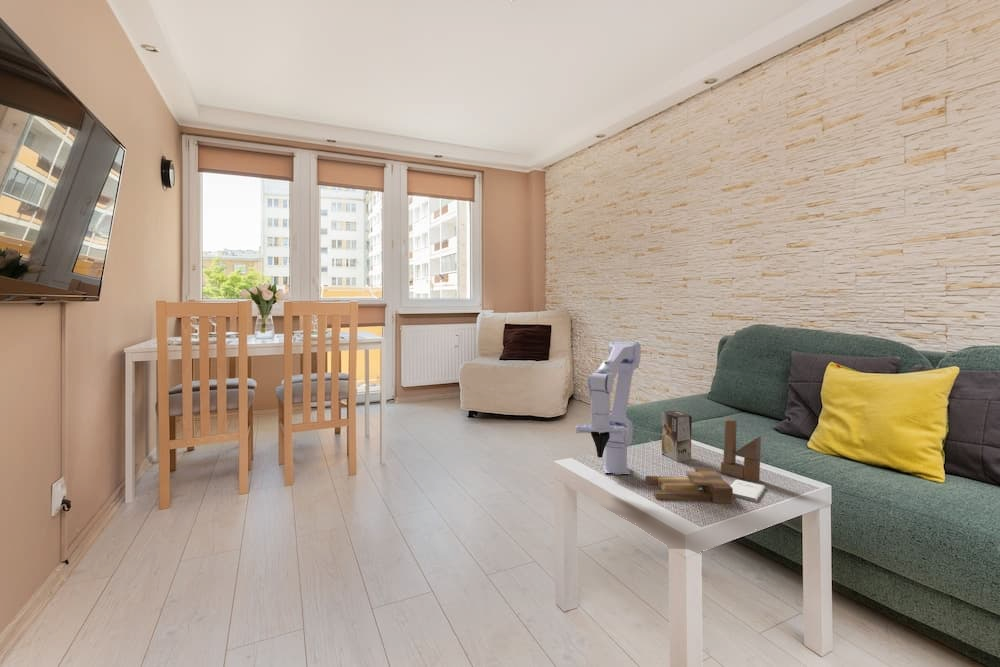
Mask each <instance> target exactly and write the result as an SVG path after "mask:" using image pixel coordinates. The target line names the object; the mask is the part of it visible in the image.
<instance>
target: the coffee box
mask: <svg viewBox="0 0 1000 667" xmlns="http://www.w3.org/2000/svg"><path fill="white" fill-rule="evenodd" d="M661 418H662V420H661V426H662V427H661V454H662V455H663V454H664V455H663V456H665V455H666V456H665V457H667V458H669V457H670V459H671V458H672V459H671V460H673V461H676V462H683V461H684V462H685V461H691V460H692V426H693V425H692V424H693V423H692V415H691V414H687V413H683V412H681V411H679V410H667V411H662V412H661Z"/></svg>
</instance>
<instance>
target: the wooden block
mask: <svg viewBox="0 0 1000 667" xmlns="http://www.w3.org/2000/svg"><path fill="white" fill-rule="evenodd" d="M723 422H724V423H723V425H724V427H723V456H722V457H723V461H721V463H720V473H721V474H723V475H727V476H731V477H735V478H737V479H740V480H741V479H742V480H743V481H747V482H751V481H752V482H751V483H757V482H758V481H760V477H761V476H760V472H761V470H760V468H761V448H762V447H761V443H762V441H761V439H762V436H758V437H755V438H754V439H752V440H751V441H750V442H748V443H747V444H745V445H744V446H743V447H741V448H739V449H737V423H738V422H737V420H736V419H735V418H725V419H724V421H723ZM736 456H737V457H741V458H744V459H743V464H741V463H739V462H738V463H737V462H736V458H737V457H736ZM756 481H757V482H756Z"/></svg>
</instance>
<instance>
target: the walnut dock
mask: <svg viewBox="0 0 1000 667" xmlns="http://www.w3.org/2000/svg"><path fill="white" fill-rule="evenodd" d="M685 475H686V476H687V477H689V478H690V480H691V481H692V482H693V483H694V484H695V485H699V487H700V488H701V490H702V491H700V490H699V491H670V490H661V489H654V490H653V497H654V498H655V499H657V500H677V501H678V500H679V501H680V500H681V501H708V502H712V503H714V504H733V496H732V493H733V488H732V487H731V484H728V482H727V481H726V480H725V479H724V478H723V477H722V476H721V475H720V474H719V473H718V472H717V471H716V470H714V468H712V467H695V470H694V471H685ZM658 477H665V476H662V475H661V476H660V475H659V476H658V475H657V476H656V475H654V476H653V475H645V482H646V484H647V483H651V484H650V485H658Z"/></svg>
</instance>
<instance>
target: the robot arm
mask: <svg viewBox="0 0 1000 667" xmlns="http://www.w3.org/2000/svg"><path fill="white" fill-rule="evenodd" d="M641 354H642V348H641V344H640V343H639V342H638V341H635V342H634V341H633V342H632V341H616V340H612V341H611V342H610V343H609V345H608V358H607V359H605V360H603V361H601V362H602V363H600V365H599V367H598V369H596V371H595V372H593V373H591V374H589V376H588V379H587V389H588V396H589V398H590V424H580V425H575V434H590V435H591V437H592V439H593V440H592V441H593V443H594V446H595V449H596V455H597V456H596V457H597V458H603V456H604V463H605V467H604V466H602V468H604V469H603V471H605V472H604V474H605V473H613V474H612V475H621V474H631V473H630V470H629V469H628V447H629V446H630V445H631V444H632V442H633V437H634V432H633V430H634V425H633V422H632V421H631V420H630V419H629V418H628V417H627V410H628V406H629V398H630V391H631V387H632V386H631V385H632V377H633V374H634V371H635V370H636V369H638V368H639V366H640V364H641V363H640V362H641ZM616 377H617V378H616ZM615 378H616V385H615V391H614V396H613V403H612V407H611V393H612V391H613V388H614V384H615ZM611 409H612V410H611ZM614 473H615V474H614Z"/></svg>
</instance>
